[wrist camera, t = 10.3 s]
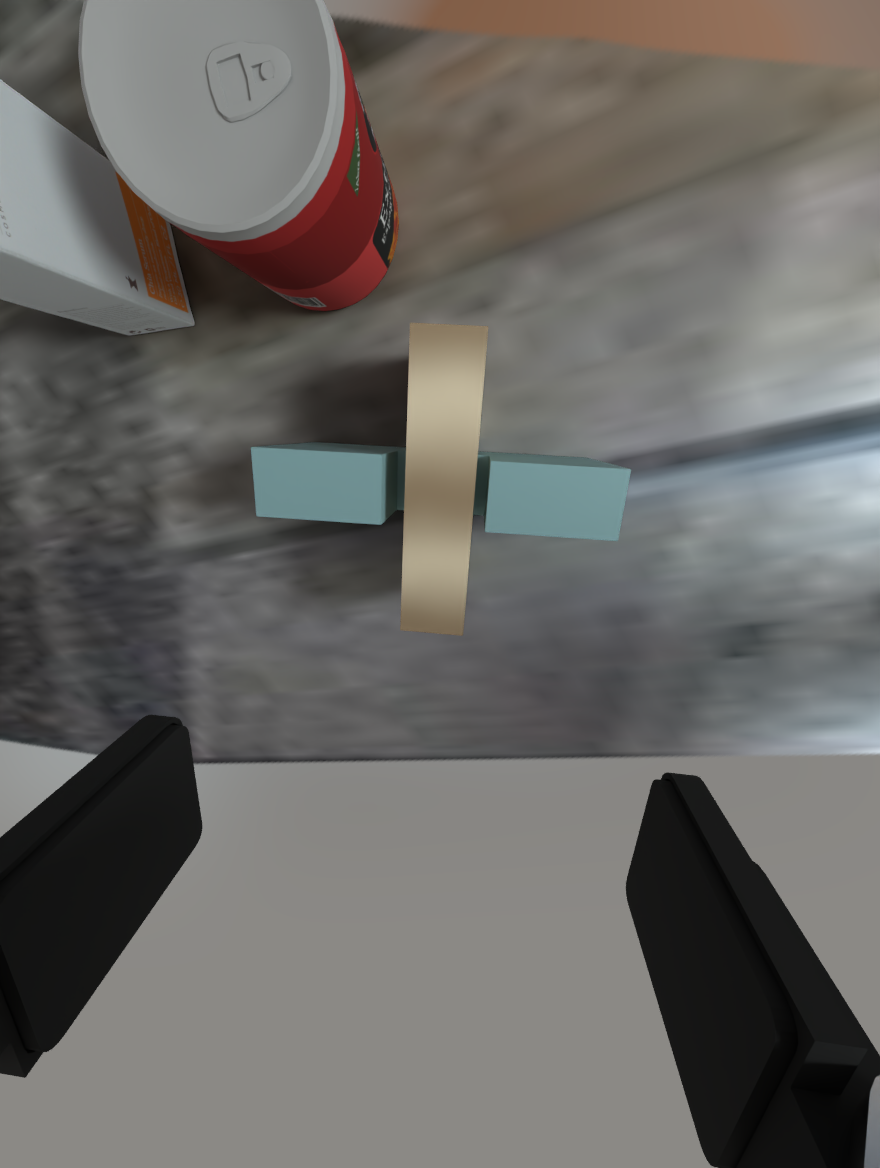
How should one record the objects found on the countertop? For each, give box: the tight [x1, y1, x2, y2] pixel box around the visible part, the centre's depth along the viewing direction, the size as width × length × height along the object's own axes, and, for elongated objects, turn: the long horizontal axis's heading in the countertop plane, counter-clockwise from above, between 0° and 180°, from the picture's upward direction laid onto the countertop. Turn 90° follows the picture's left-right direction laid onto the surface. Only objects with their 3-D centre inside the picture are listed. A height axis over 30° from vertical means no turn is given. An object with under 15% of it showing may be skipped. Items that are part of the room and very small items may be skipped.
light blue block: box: [251, 442, 631, 541], centre depth 23 cm, size 16×3×8 cm, turn 87°
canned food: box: [78, 0, 399, 311], centre depth 18 cm, size 8×8×11 cm
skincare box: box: [0, 80, 195, 336], centre depth 19 cm, size 6×4×12 cm
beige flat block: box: [400, 323, 488, 636], centre depth 23 cm, size 13×3×8 cm, turn 177°
